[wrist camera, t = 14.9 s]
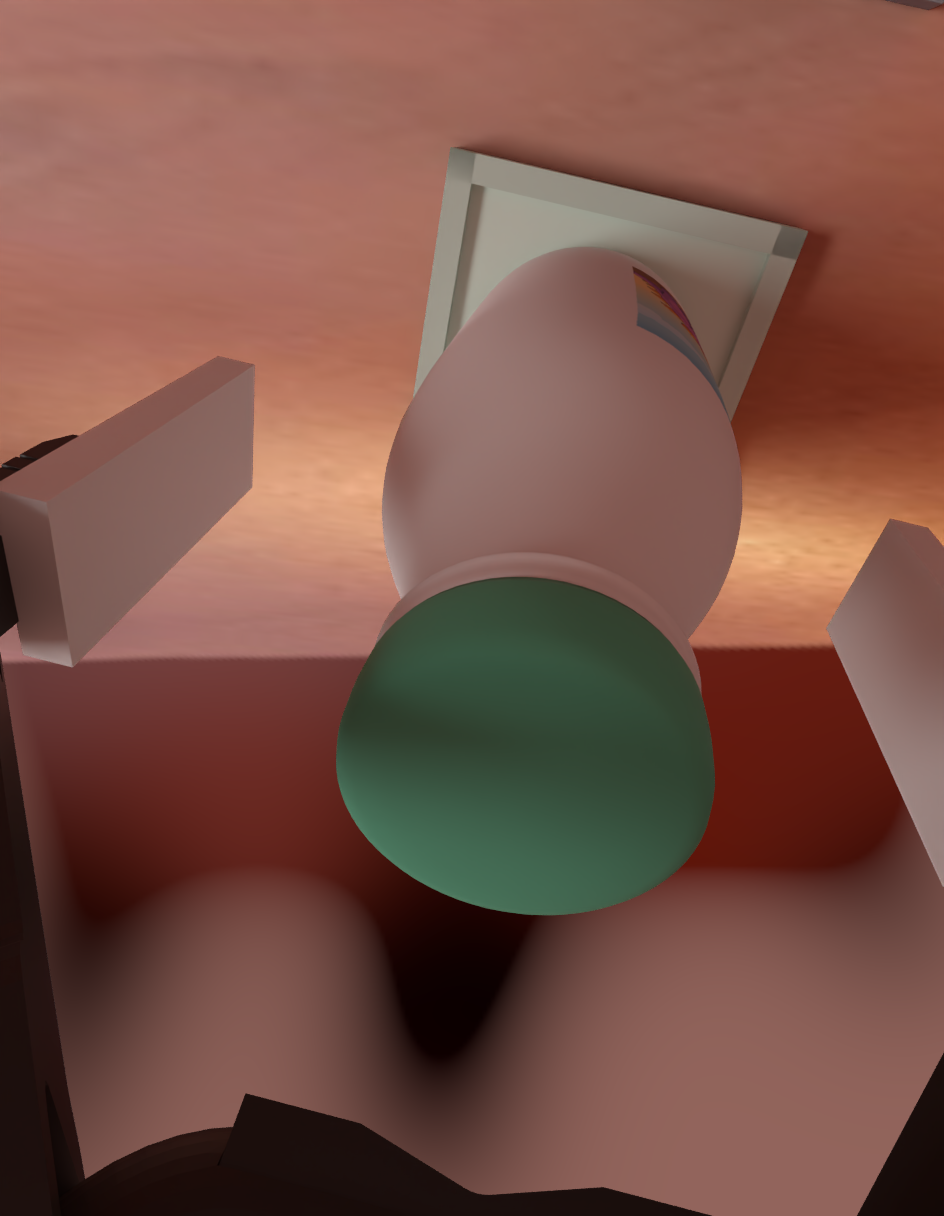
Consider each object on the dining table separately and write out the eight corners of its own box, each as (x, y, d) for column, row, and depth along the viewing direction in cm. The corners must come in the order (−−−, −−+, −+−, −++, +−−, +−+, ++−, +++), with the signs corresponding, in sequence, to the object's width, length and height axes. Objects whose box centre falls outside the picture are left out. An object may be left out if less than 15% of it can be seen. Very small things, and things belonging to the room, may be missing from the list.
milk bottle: (461, 460, 28) (239, 942, 11) (473, 233, 23) (140, 459, 7) (667, 483, 27) (762, 1040, 10) (717, 253, 23) (1020, 565, 6)
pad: (456, 147, 23) (450, 147, 22) (800, 228, 22) (808, 231, 22) (407, 469, 29) (401, 479, 28) (677, 536, 28) (679, 547, 28)
